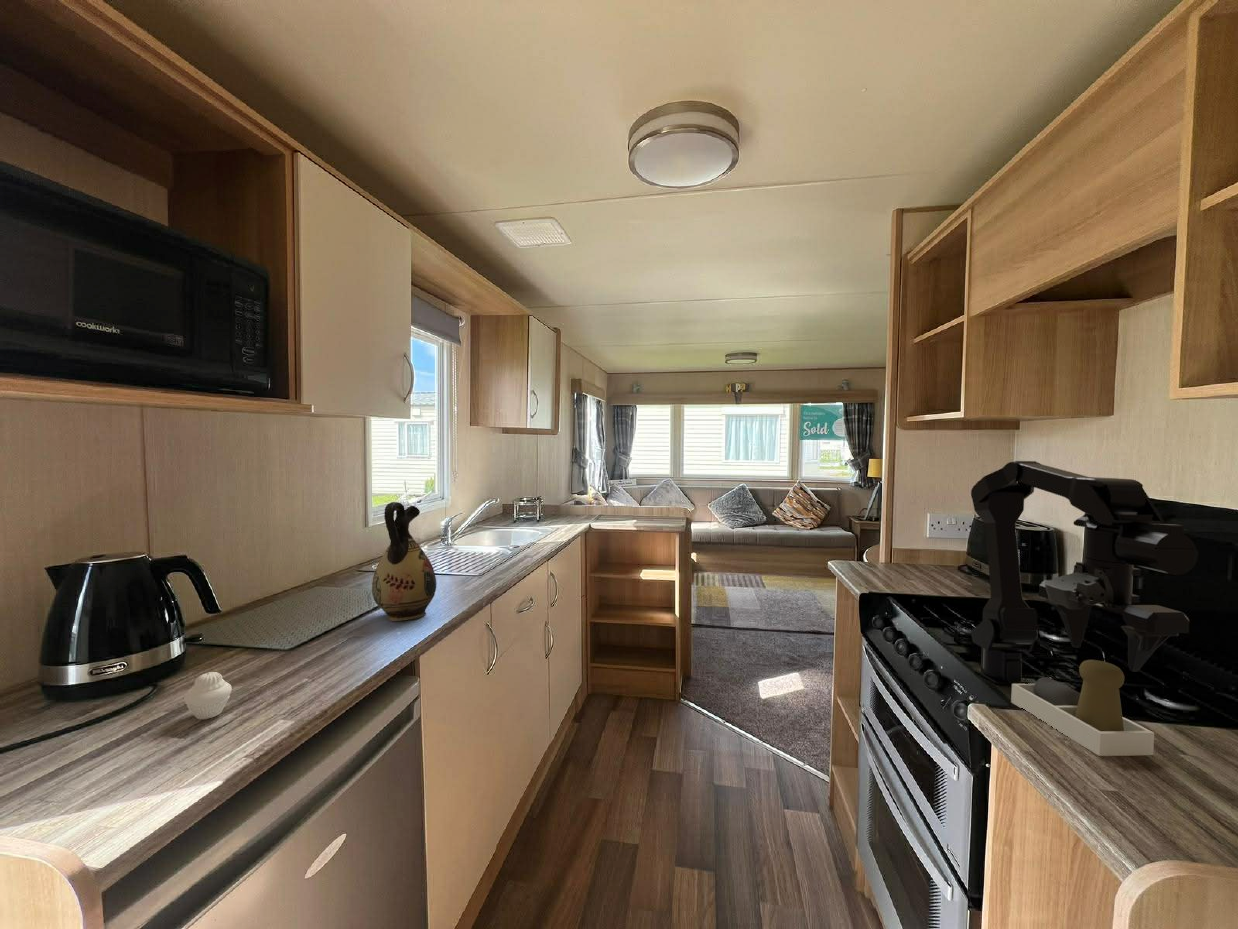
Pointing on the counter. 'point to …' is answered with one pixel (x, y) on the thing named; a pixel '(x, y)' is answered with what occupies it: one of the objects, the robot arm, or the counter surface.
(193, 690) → the muffin
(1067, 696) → the dark grey cylinder
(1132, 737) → the slot tray
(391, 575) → the ceramic jug
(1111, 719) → the cork
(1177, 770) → the counter surface
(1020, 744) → the counter surface
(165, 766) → the counter surface
